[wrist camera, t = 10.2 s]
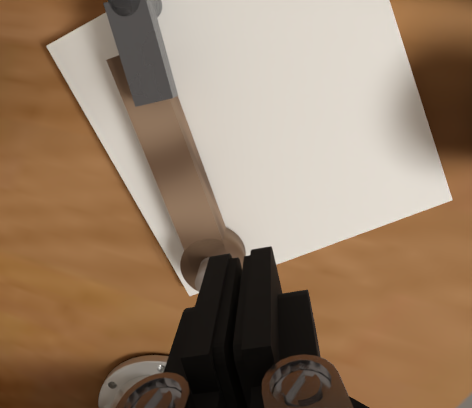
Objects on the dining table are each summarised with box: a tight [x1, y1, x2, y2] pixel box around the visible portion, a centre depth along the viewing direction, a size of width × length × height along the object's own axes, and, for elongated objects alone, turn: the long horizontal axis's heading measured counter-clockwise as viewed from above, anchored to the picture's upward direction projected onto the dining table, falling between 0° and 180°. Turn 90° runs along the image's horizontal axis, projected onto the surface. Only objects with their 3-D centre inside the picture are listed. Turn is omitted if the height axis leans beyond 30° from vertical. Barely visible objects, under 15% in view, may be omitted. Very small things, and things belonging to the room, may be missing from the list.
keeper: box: [103, 0, 178, 107], centre depth 26 cm, size 7×2×5 cm, turn 13°
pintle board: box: [46, 0, 452, 296], centre depth 31 cm, size 22×22×2 cm
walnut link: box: [106, 55, 246, 292], centre depth 30 cm, size 18×5×5 cm, turn 18°
